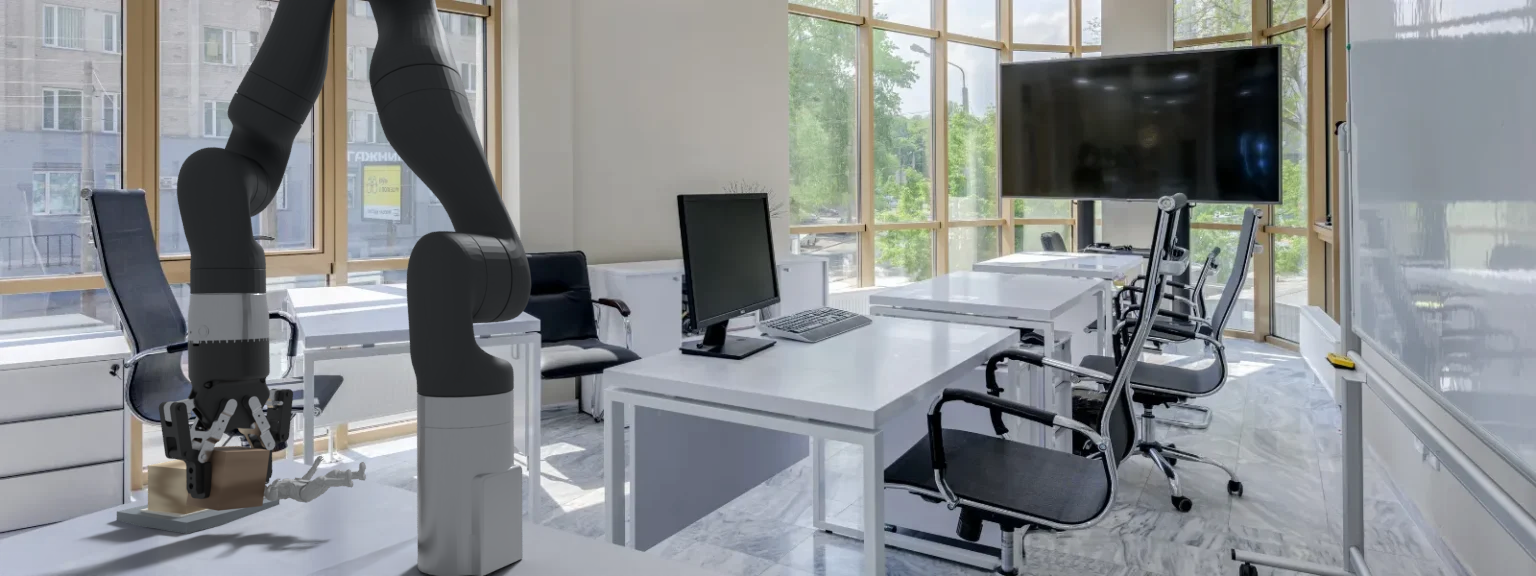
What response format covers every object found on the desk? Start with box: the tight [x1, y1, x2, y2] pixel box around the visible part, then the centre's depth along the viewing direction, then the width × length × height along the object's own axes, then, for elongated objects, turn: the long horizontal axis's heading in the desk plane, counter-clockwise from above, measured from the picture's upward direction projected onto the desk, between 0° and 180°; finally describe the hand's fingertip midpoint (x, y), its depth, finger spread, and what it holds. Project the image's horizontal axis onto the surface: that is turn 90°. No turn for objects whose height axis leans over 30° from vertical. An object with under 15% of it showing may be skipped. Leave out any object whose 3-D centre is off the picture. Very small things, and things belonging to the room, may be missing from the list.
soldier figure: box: [263, 455, 367, 503], centre depth 96 cm, size 8×5×12 cm
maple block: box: [147, 459, 206, 514], centre depth 102 cm, size 6×8×5 cm
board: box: [116, 498, 280, 535], centre depth 102 cm, size 12×11×1 cm
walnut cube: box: [186, 445, 270, 511], centre depth 94 cm, size 5×5×6 cm
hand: (231, 490), depth 95 cm, fingers open, 6 cm apart
